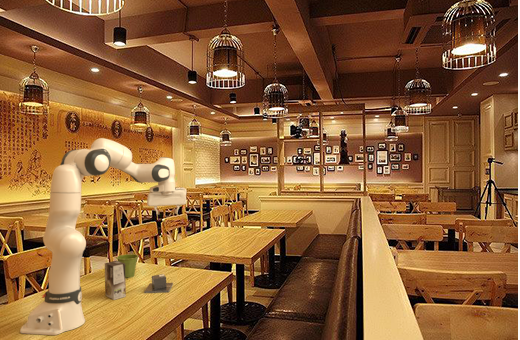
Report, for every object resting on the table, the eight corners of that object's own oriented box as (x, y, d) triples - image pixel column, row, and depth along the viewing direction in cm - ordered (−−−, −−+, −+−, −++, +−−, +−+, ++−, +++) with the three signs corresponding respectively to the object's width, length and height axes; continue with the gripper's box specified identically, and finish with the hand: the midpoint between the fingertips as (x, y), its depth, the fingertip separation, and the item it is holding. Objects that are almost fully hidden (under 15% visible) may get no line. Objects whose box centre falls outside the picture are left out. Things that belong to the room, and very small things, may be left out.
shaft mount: (144, 293, 186) (144, 285, 185) (149, 285, 198) (149, 277, 197) (169, 292, 186) (168, 284, 186) (173, 284, 198) (172, 276, 198)
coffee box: (126, 296, 181) (125, 263, 181) (113, 300, 176) (112, 266, 176) (117, 292, 187) (117, 260, 187) (104, 295, 182) (104, 262, 182)
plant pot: (134, 279, 207) (134, 259, 207) (113, 279, 208) (113, 259, 207) (141, 273, 219) (141, 253, 219) (121, 273, 219) (121, 254, 219)
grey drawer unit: (154, 289, 188) (153, 278, 188) (152, 285, 193) (151, 274, 193) (166, 287, 191) (166, 276, 190) (163, 283, 196) (163, 272, 196)
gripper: (185, 186, 206) (185, 212, 206) (146, 188, 198) (146, 214, 199) (187, 187, 200) (187, 213, 200) (147, 188, 192) (147, 215, 193)
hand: (167, 213), depth 199 cm, fingers open, 8 cm apart
